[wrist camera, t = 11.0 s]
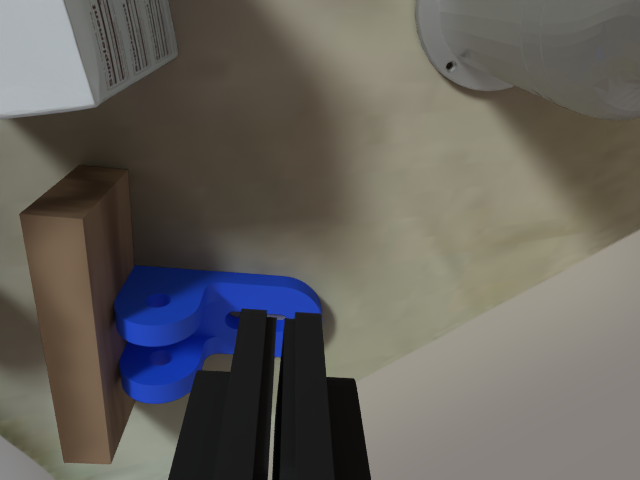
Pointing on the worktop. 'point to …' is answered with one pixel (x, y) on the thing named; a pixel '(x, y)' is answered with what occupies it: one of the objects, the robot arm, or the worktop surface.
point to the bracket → (192, 322)
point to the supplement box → (78, 51)
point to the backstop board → (83, 304)
